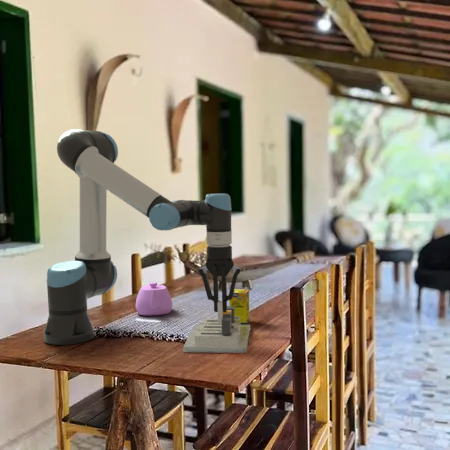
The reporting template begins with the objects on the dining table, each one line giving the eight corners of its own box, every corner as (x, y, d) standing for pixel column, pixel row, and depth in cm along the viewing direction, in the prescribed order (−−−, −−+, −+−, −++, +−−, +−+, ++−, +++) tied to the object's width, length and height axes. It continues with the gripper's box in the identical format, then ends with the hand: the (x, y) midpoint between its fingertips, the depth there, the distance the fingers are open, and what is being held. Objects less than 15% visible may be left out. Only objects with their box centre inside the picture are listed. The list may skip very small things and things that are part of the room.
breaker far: (226, 321, 179) (226, 308, 179) (227, 318, 182) (226, 306, 182) (233, 321, 179) (233, 308, 179) (234, 318, 182) (234, 306, 182)
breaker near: (221, 333, 165) (221, 320, 165) (222, 330, 168) (222, 317, 168) (230, 334, 165) (229, 320, 165) (231, 331, 168) (230, 317, 168)
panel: (183, 352, 163) (183, 338, 163) (195, 328, 187) (195, 316, 187) (246, 353, 162) (246, 338, 161) (250, 329, 186) (250, 316, 185)
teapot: (136, 321, 198) (135, 289, 197) (134, 307, 217) (133, 278, 216) (175, 318, 200) (174, 287, 199) (170, 305, 220) (169, 277, 219)
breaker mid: (222, 327, 172) (222, 312, 172) (223, 324, 175) (223, 310, 175) (230, 327, 172) (230, 312, 172) (231, 324, 175) (231, 310, 175)
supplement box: (247, 325, 190) (246, 293, 189) (229, 324, 192) (228, 292, 190) (249, 320, 196) (249, 289, 195) (232, 319, 197) (232, 288, 196)
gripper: (195, 247, 168) (197, 325, 171) (240, 246, 167) (241, 325, 169) (199, 243, 176) (201, 319, 178) (241, 243, 175) (242, 319, 177)
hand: (220, 322), depth 174 cm, fingers closed
